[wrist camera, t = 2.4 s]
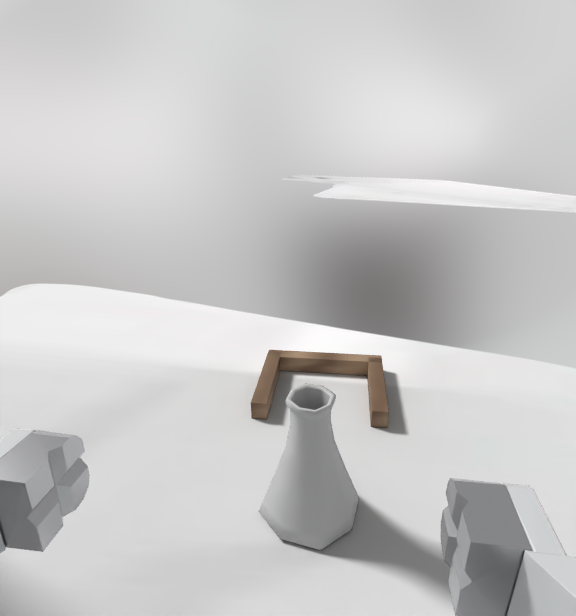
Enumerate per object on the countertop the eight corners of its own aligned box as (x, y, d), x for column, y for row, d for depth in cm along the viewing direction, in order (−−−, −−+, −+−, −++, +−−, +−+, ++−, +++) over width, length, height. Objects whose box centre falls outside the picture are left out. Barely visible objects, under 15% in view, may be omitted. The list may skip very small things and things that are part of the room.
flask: (374, 499, 34) (384, 389, 30) (324, 570, 29) (328, 449, 25) (298, 459, 38) (297, 358, 34) (241, 516, 33) (233, 404, 29)
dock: (251, 417, 43) (250, 402, 42) (269, 363, 53) (269, 349, 52) (387, 427, 42) (388, 412, 41) (380, 369, 51) (381, 355, 50)
